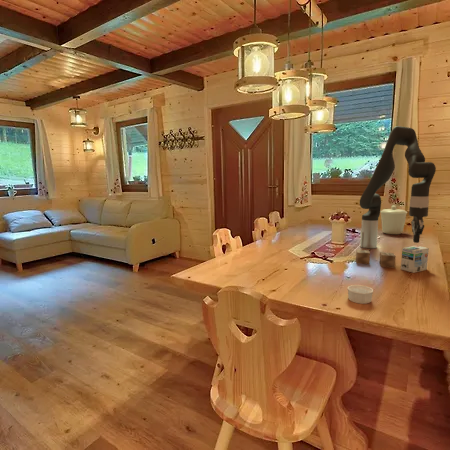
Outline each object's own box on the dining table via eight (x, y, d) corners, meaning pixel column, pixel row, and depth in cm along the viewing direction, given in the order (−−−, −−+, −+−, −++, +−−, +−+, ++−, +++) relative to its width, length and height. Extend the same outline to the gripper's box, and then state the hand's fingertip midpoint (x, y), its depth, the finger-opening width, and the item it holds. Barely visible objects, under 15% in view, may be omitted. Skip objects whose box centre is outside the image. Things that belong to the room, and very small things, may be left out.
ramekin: (346, 302, 114) (347, 291, 113) (346, 294, 122) (347, 283, 122) (373, 306, 111) (374, 294, 110) (371, 296, 119) (372, 286, 118)
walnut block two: (356, 263, 162) (357, 252, 161) (355, 260, 167) (356, 249, 166) (369, 264, 160) (370, 252, 159) (368, 261, 165) (368, 249, 164)
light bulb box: (413, 273, 145) (415, 250, 143) (399, 269, 151) (401, 247, 149) (427, 269, 150) (429, 247, 148) (413, 266, 156) (415, 245, 154)
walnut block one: (381, 266, 155) (382, 254, 154) (379, 263, 161) (380, 251, 160) (394, 267, 154) (395, 255, 153) (392, 264, 159) (393, 252, 158)
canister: (373, 231, 244) (375, 204, 240) (395, 230, 246) (397, 204, 242) (388, 236, 226) (390, 207, 223) (411, 235, 228) (413, 206, 225)
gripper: (406, 204, 152) (403, 239, 155) (413, 207, 140) (410, 245, 143) (424, 204, 150) (421, 239, 153) (432, 207, 138) (429, 245, 141)
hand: (416, 242), depth 148 cm, fingers closed
